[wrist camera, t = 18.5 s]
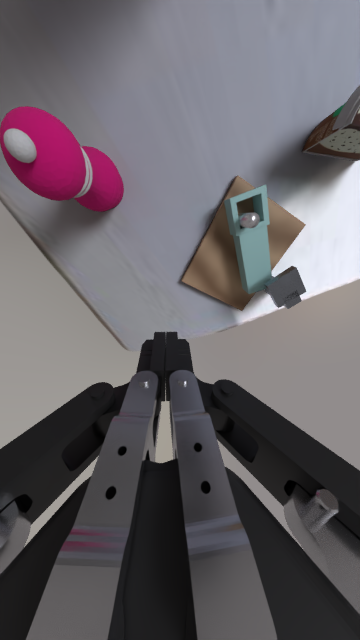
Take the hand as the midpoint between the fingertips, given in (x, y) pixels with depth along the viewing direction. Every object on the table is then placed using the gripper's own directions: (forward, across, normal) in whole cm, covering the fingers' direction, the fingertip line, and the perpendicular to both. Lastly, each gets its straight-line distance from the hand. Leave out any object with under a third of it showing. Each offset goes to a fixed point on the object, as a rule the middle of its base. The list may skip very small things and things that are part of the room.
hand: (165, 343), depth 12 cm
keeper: (+27, -20, +3) cm, 34 cm away
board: (+27, -14, -2) cm, 30 cm away
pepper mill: (+27, +10, -12) cm, 31 cm away
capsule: (+27, -12, -7) cm, 30 cm away
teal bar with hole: (+26, -15, -3) cm, 30 cm away
